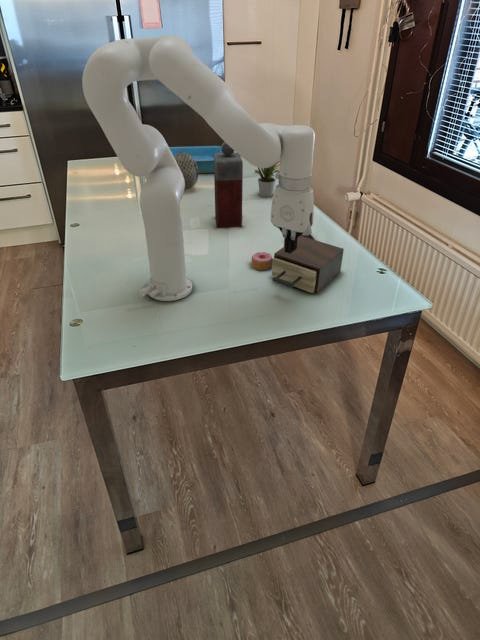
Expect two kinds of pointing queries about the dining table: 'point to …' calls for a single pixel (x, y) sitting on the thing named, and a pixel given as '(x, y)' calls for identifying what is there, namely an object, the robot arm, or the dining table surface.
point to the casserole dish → (200, 156)
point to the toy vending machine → (228, 187)
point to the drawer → (293, 275)
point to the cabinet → (316, 259)
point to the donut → (262, 261)
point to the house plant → (267, 180)
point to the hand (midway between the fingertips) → (290, 251)
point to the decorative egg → (187, 168)
